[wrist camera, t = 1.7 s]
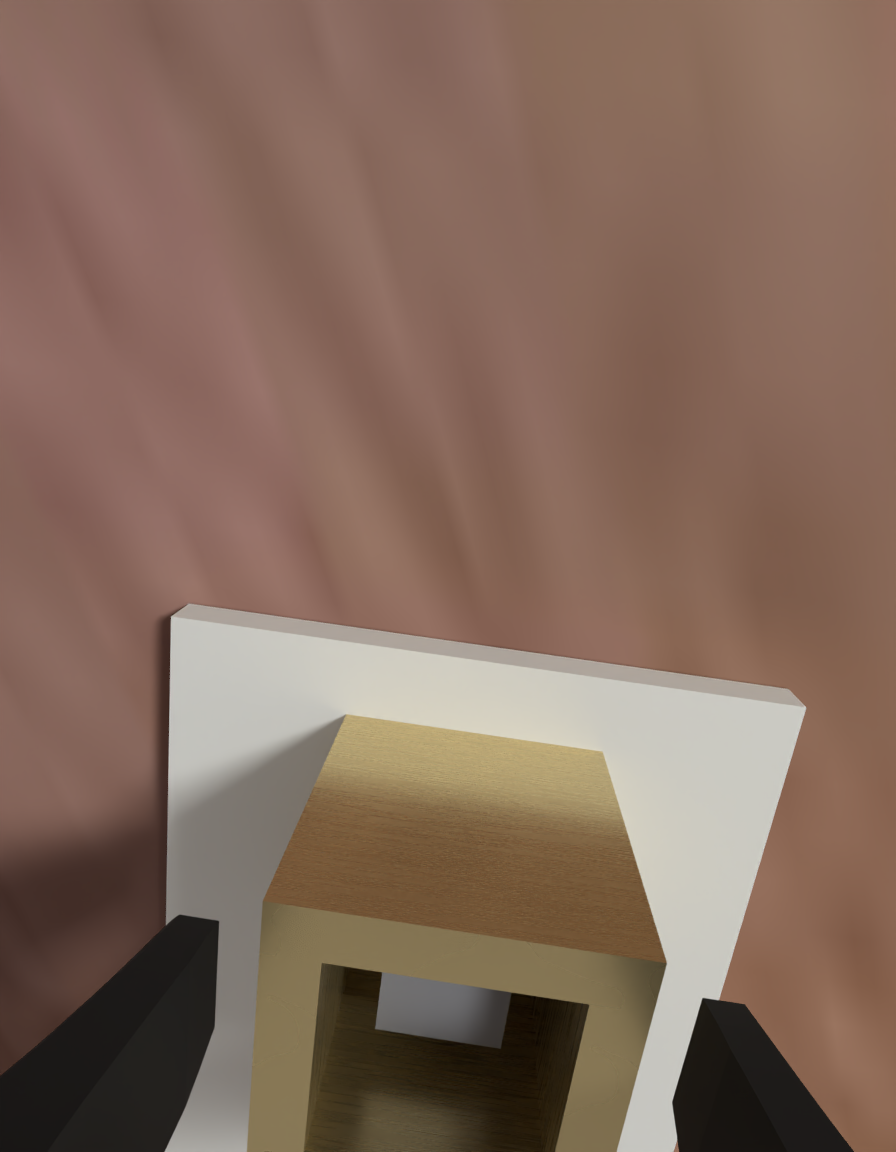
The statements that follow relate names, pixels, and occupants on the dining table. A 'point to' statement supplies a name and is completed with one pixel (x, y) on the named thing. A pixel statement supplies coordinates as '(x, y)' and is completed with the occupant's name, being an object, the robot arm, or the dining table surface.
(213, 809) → the board
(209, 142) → the dining table surface
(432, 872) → the sleeve
